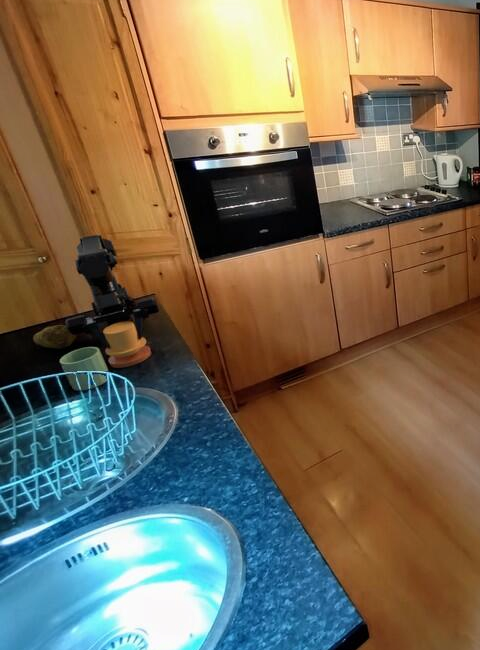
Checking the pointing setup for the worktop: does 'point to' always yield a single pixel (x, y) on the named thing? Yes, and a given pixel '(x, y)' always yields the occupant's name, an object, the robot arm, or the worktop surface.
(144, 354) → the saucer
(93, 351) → the pale green cylinder
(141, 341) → the orange top hat
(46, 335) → the potato
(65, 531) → the worktop surface
